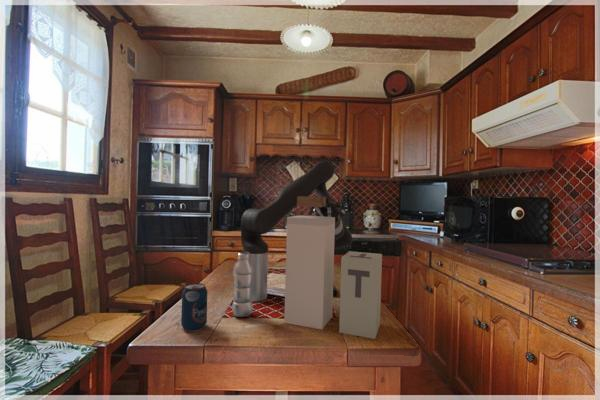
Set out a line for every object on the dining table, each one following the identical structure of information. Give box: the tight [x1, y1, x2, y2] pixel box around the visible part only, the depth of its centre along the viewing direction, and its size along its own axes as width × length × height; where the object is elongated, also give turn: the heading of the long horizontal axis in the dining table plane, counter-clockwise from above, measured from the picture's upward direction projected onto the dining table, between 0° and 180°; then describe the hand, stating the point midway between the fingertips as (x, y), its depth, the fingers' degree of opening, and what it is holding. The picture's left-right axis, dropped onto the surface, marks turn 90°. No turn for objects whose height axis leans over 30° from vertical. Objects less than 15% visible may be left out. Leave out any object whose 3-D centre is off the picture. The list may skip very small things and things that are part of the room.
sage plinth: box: [338, 250, 383, 340], centre depth 95 cm, size 11×10×22 cm
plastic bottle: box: [231, 251, 254, 318], centre depth 103 cm, size 6×7×20 cm
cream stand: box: [283, 215, 335, 330], centre depth 101 cm, size 11×12×32 cm
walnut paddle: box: [296, 196, 326, 208], centre depth 105 cm, size 18×7×3 cm, turn 159°
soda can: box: [180, 282, 208, 333], centre depth 93 cm, size 7×7×12 cm
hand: (320, 198), depth 109 cm, fingers closed on walnut paddle, 3 cm apart
